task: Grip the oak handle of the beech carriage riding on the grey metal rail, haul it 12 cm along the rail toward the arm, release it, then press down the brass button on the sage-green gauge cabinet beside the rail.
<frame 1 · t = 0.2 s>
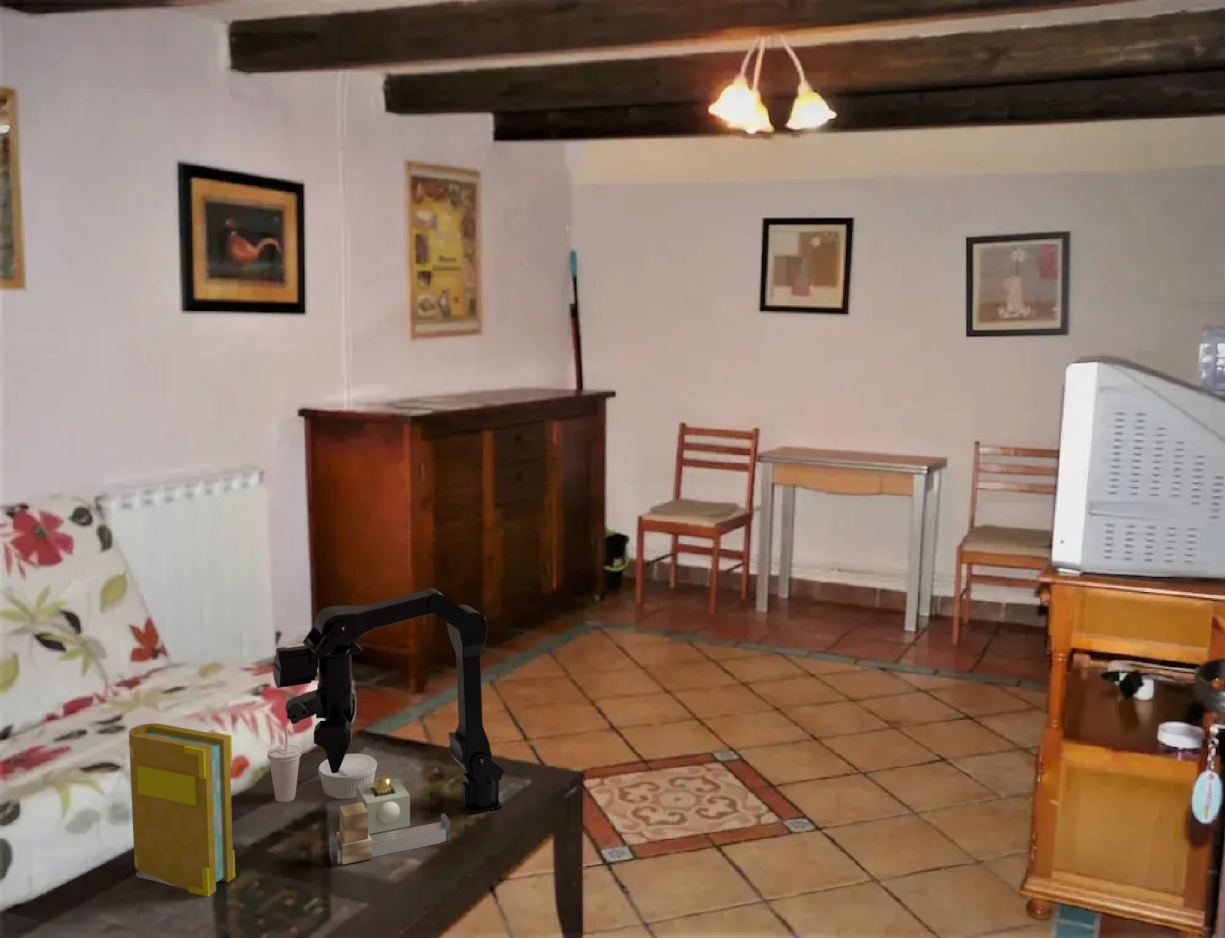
hand: (336, 761, 193), 14 cm above the table, fingers open, 9 cm apart
carriage: (353, 831, 187), point 5 cm above the table, slide at 0.0 cm
rail: (390, 848, 191), on the table
gauge cabinet: (383, 820, 201), on the table
book: (180, 877, 180), on the table
ramekin: (348, 790, 214), on the table
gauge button: (383, 788, 200), point 6 cm above the table, slide at 0.0 cm
smoothie: (285, 798, 210), on the table
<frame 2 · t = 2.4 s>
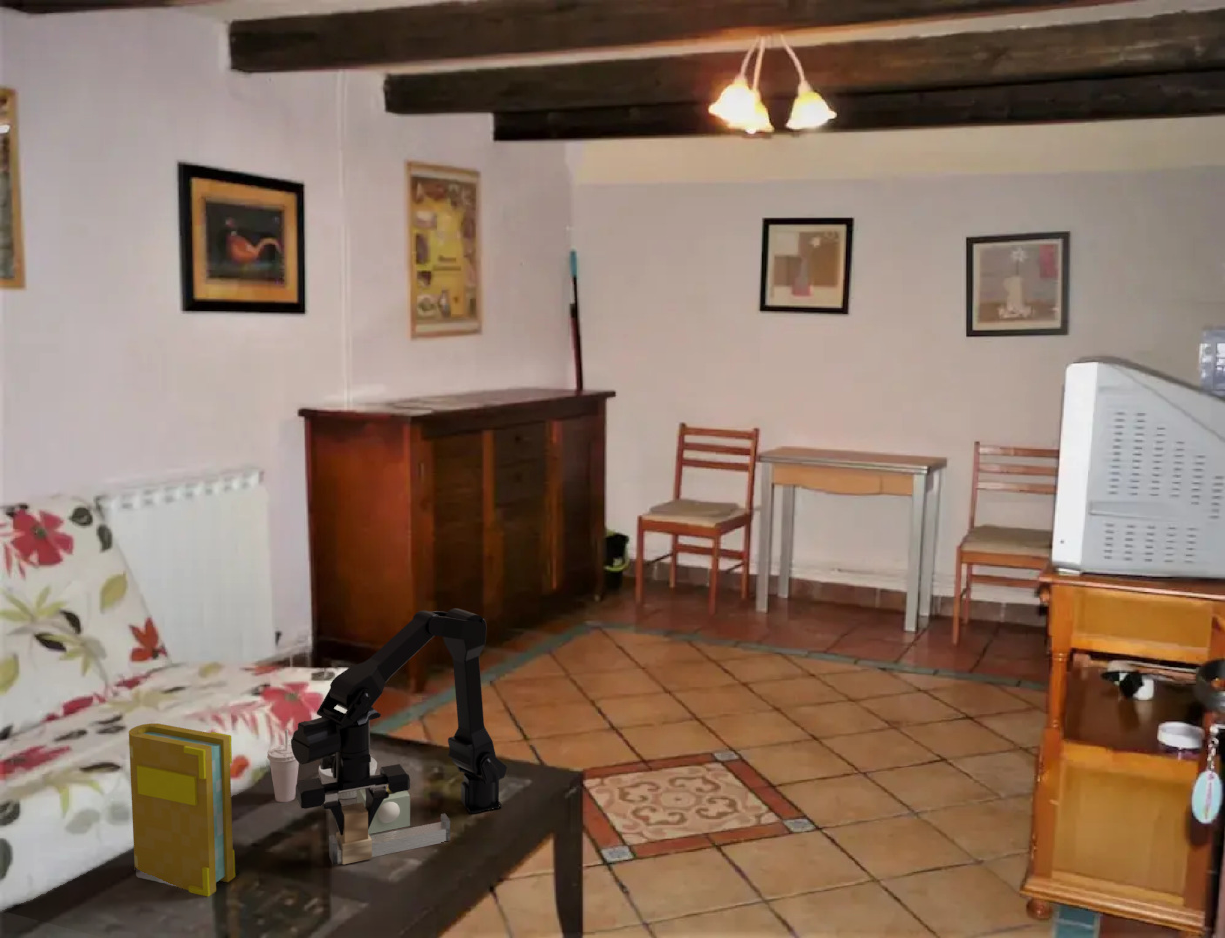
hand: (353, 831, 187), 5 cm above the table, fingers closed on carriage, 4 cm apart
carriage: (353, 831, 187), point 5 cm above the table, slide at 0.0 cm, touching gripper
everything else where it was.
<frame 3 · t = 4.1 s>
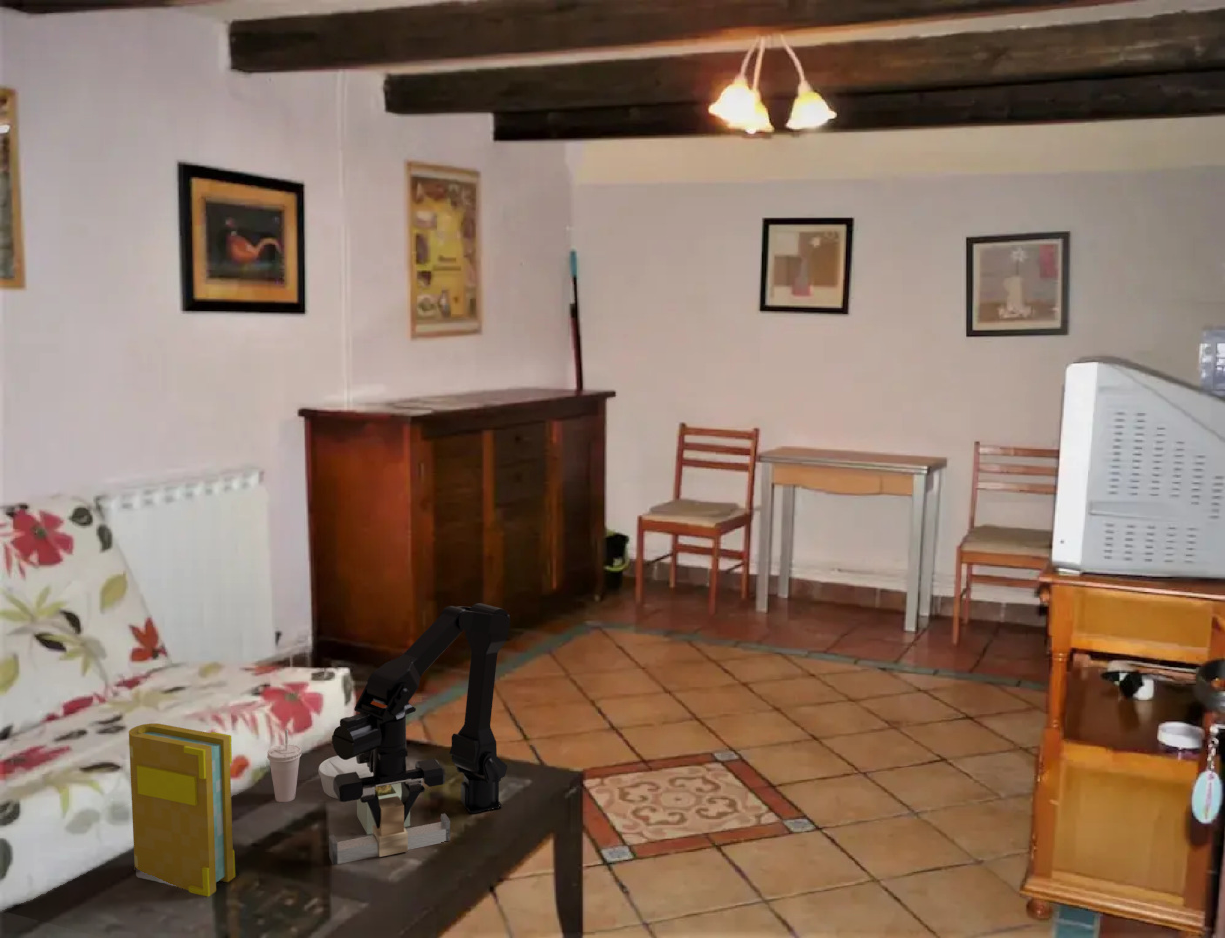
hand: (390, 825, 190), 5 cm above the table, fingers closed on carriage, 4 cm apart
carriage: (389, 825, 190), point 5 cm above the table, slide at 6.4 cm, touching gripper
everything else where it was.
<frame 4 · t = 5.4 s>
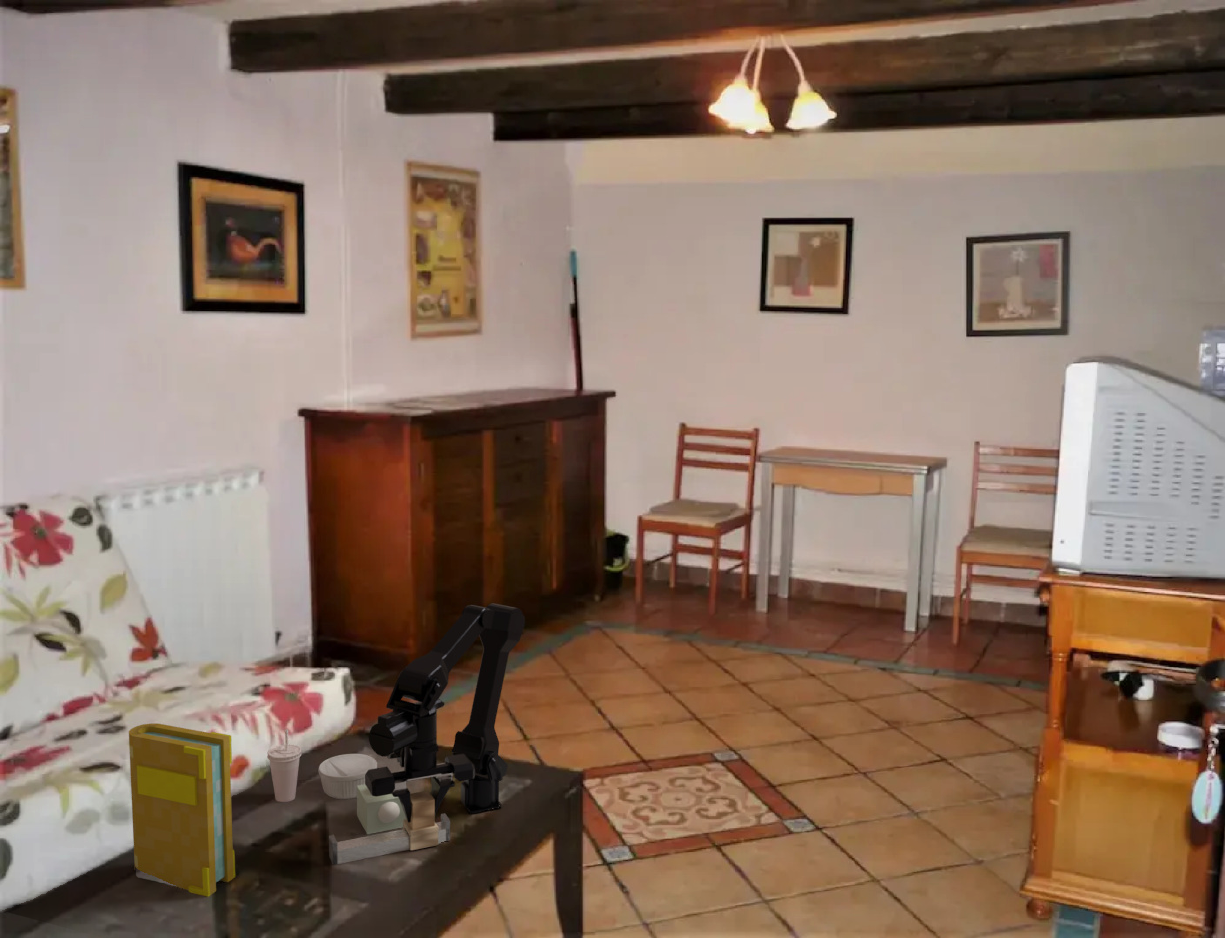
hand: (420, 819, 193), 5 cm above the table, fingers closed on carriage, 4 cm apart
carriage: (420, 819, 193), point 5 cm above the table, slide at 12.0 cm, touching gripper
everything else where it was.
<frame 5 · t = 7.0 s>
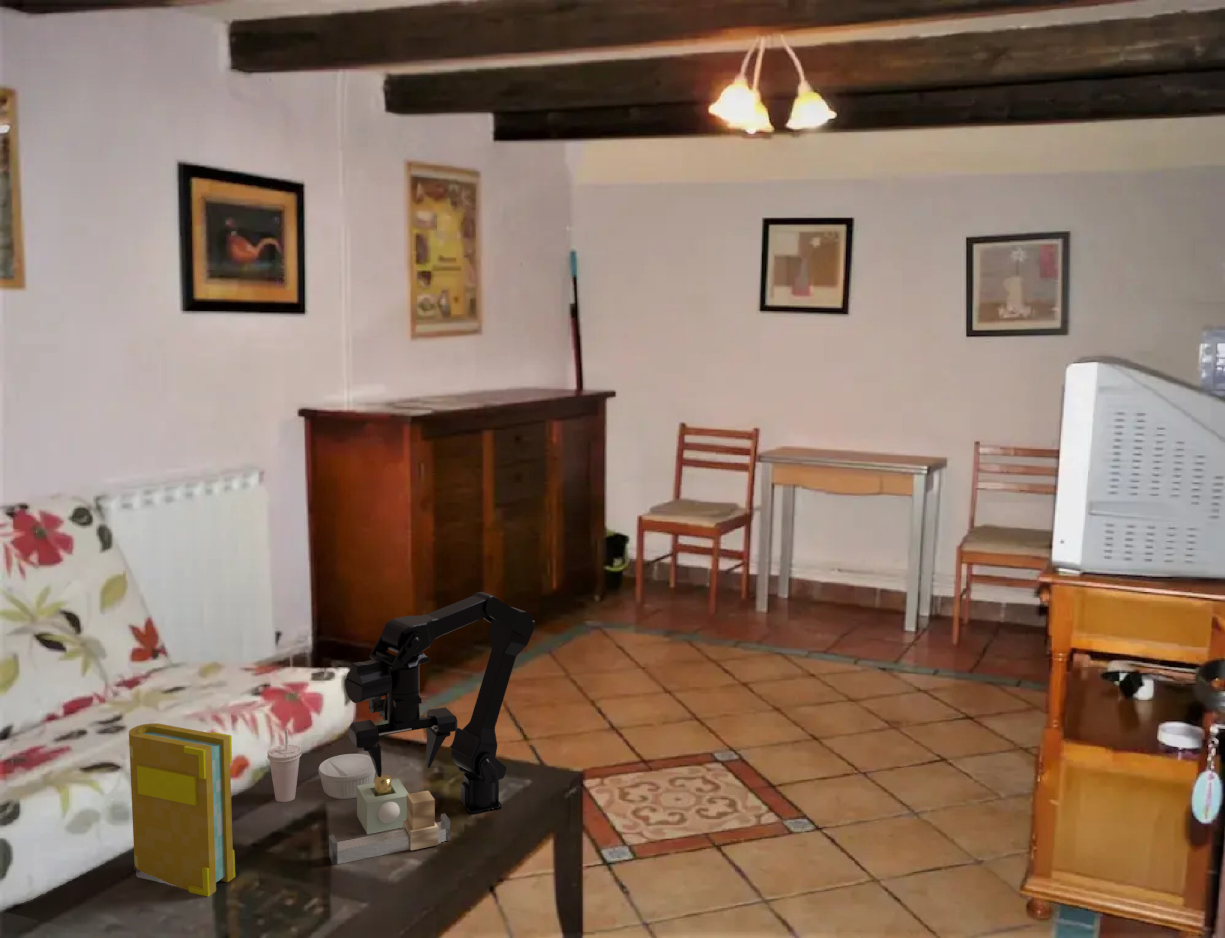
hand: (403, 771, 195), 12 cm above the table, fingers open, 9 cm apart
carriage: (420, 819, 193), point 5 cm above the table, slide at 12.0 cm
everything else where it was.
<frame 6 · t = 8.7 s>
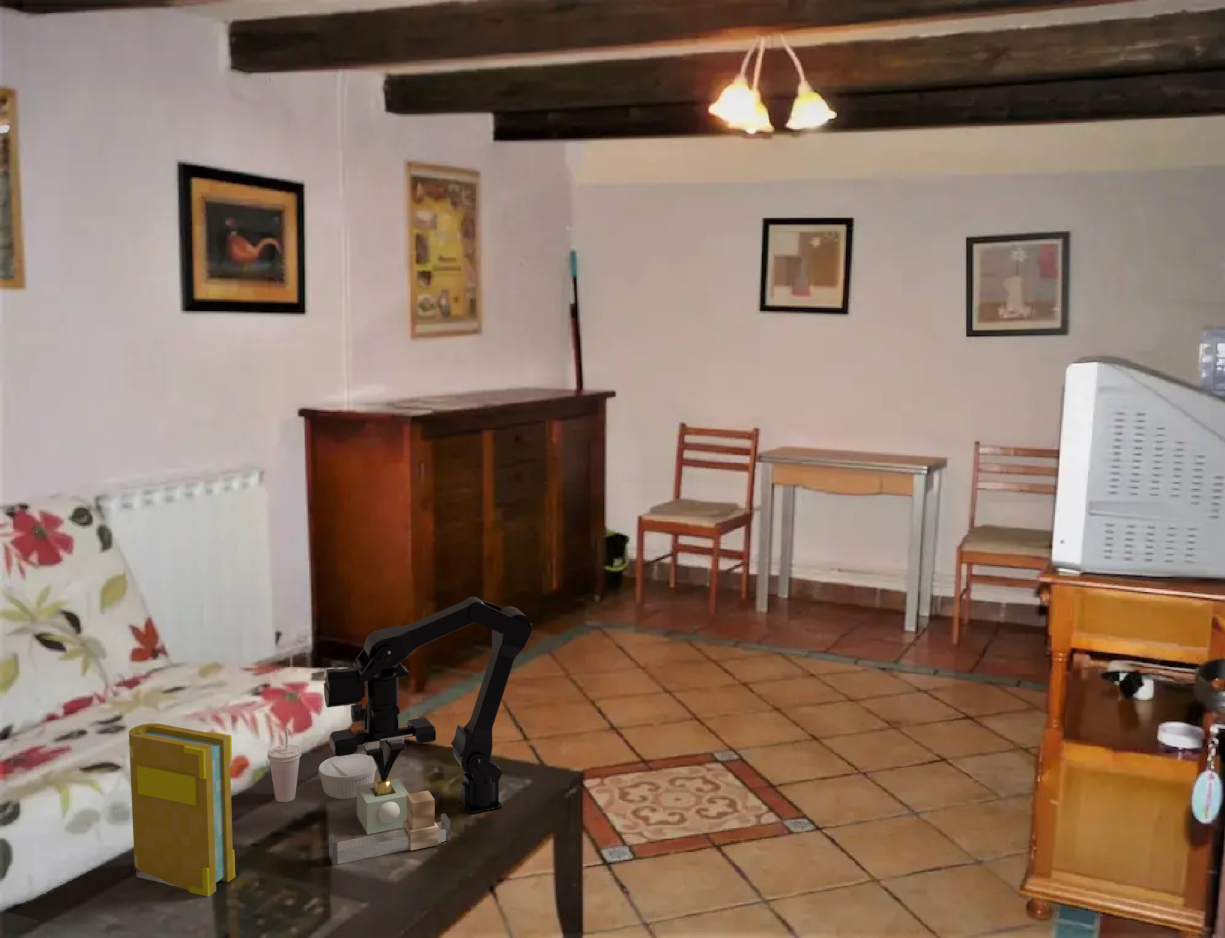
hand: (383, 779, 200), 8 cm above the table, fingers closed, pressing on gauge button
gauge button: (383, 790, 200), point 6 cm above the table, slide at 0.4 cm, touching gripper
everything else where it was.
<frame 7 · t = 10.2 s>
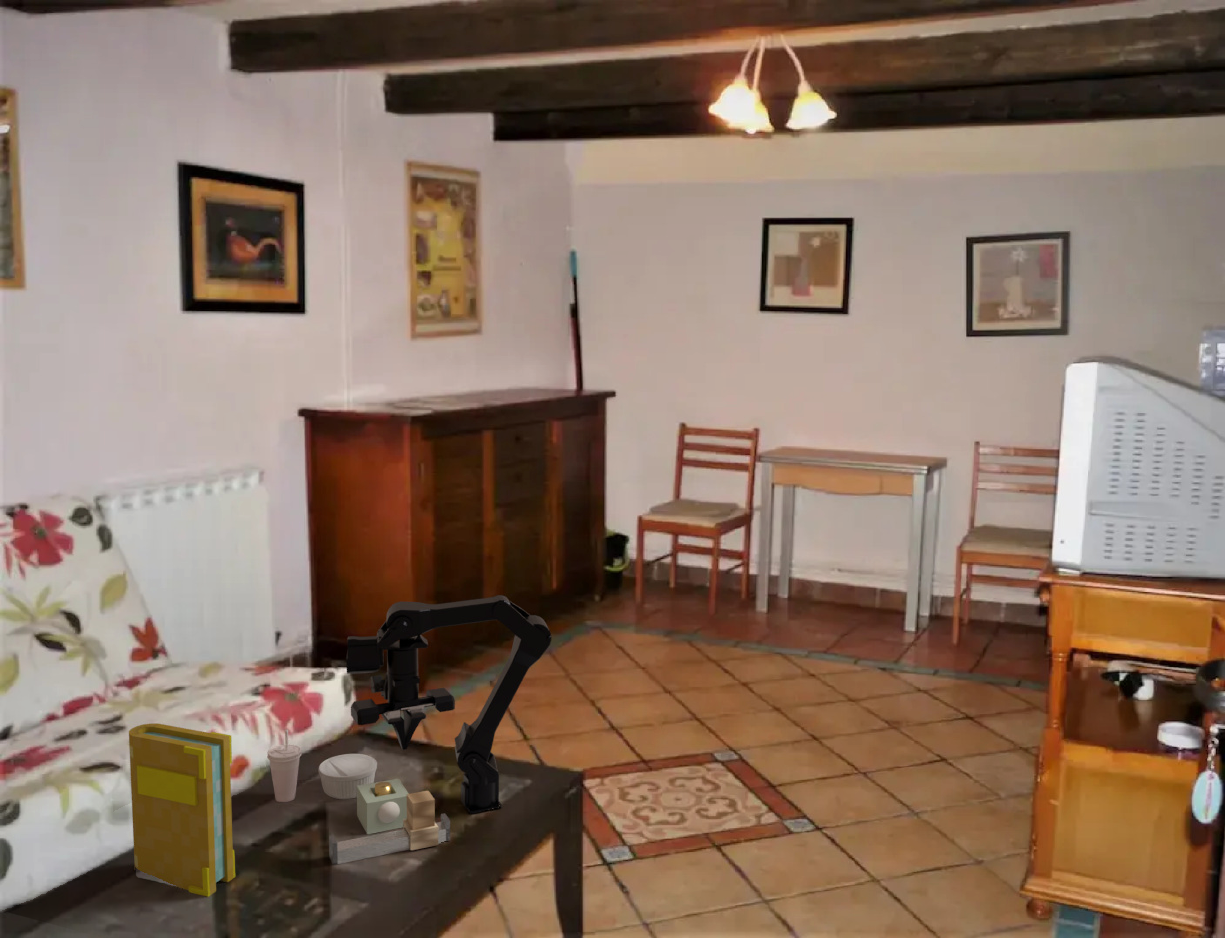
hand: (403, 748, 204), 12 cm above the table, fingers closed
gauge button: (383, 795, 201), point 5 cm above the table, slide at 1.4 cm
everything else where it was.
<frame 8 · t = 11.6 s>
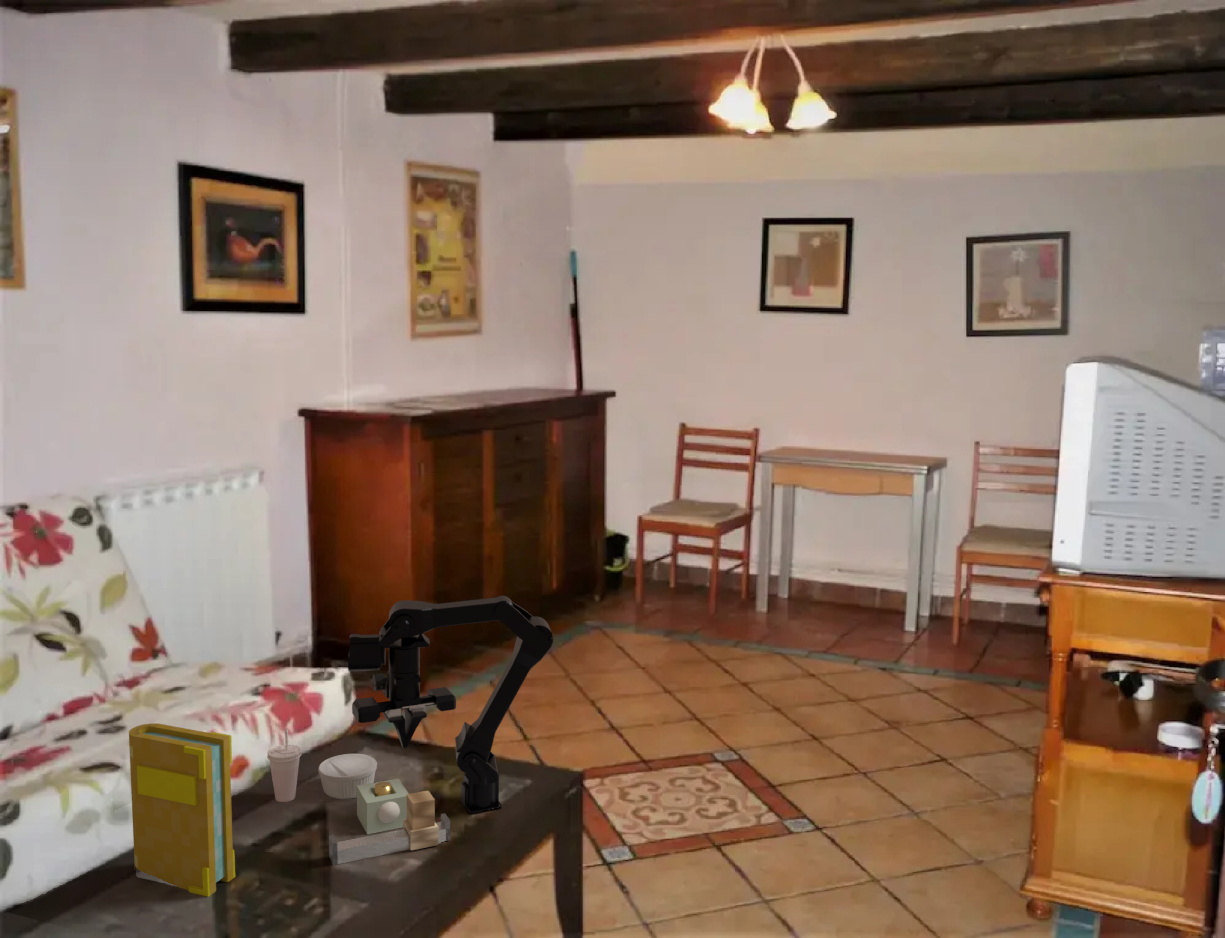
hand: (404, 747, 204), 13 cm above the table, fingers closed
nothing on the table moved.
at the end: carriage slide at 12.0 cm; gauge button slide at 1.4 cm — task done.
